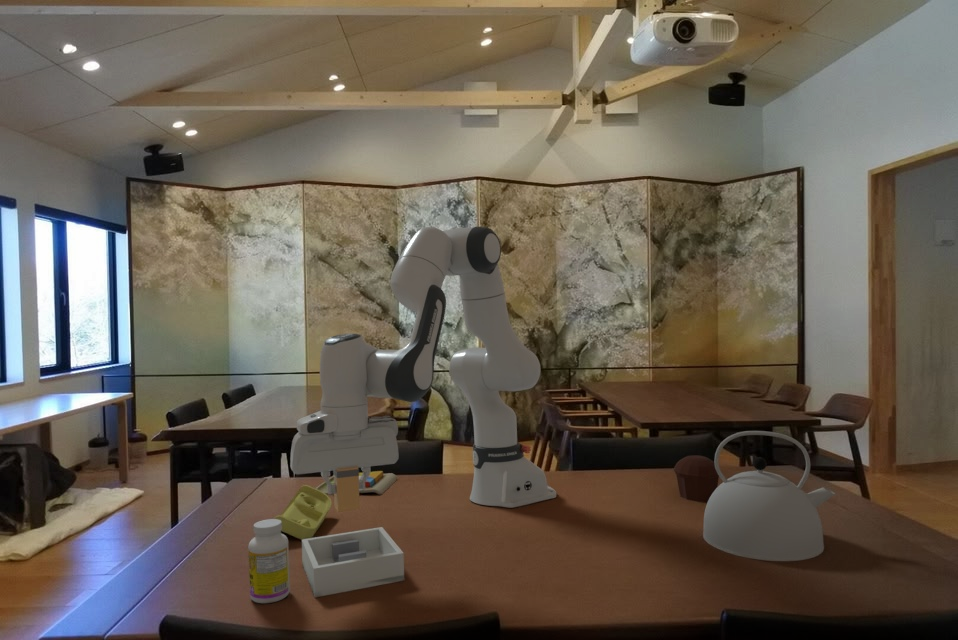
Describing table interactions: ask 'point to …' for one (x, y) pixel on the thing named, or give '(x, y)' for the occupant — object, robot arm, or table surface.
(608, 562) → the table surface
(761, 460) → the kettle
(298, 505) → the plastic component
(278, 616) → the table surface
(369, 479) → the wooden puzzle
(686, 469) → the muffin
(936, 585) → the table surface
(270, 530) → the supplement bottle
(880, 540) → the table surface
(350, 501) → the tan tall block
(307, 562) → the walled box
